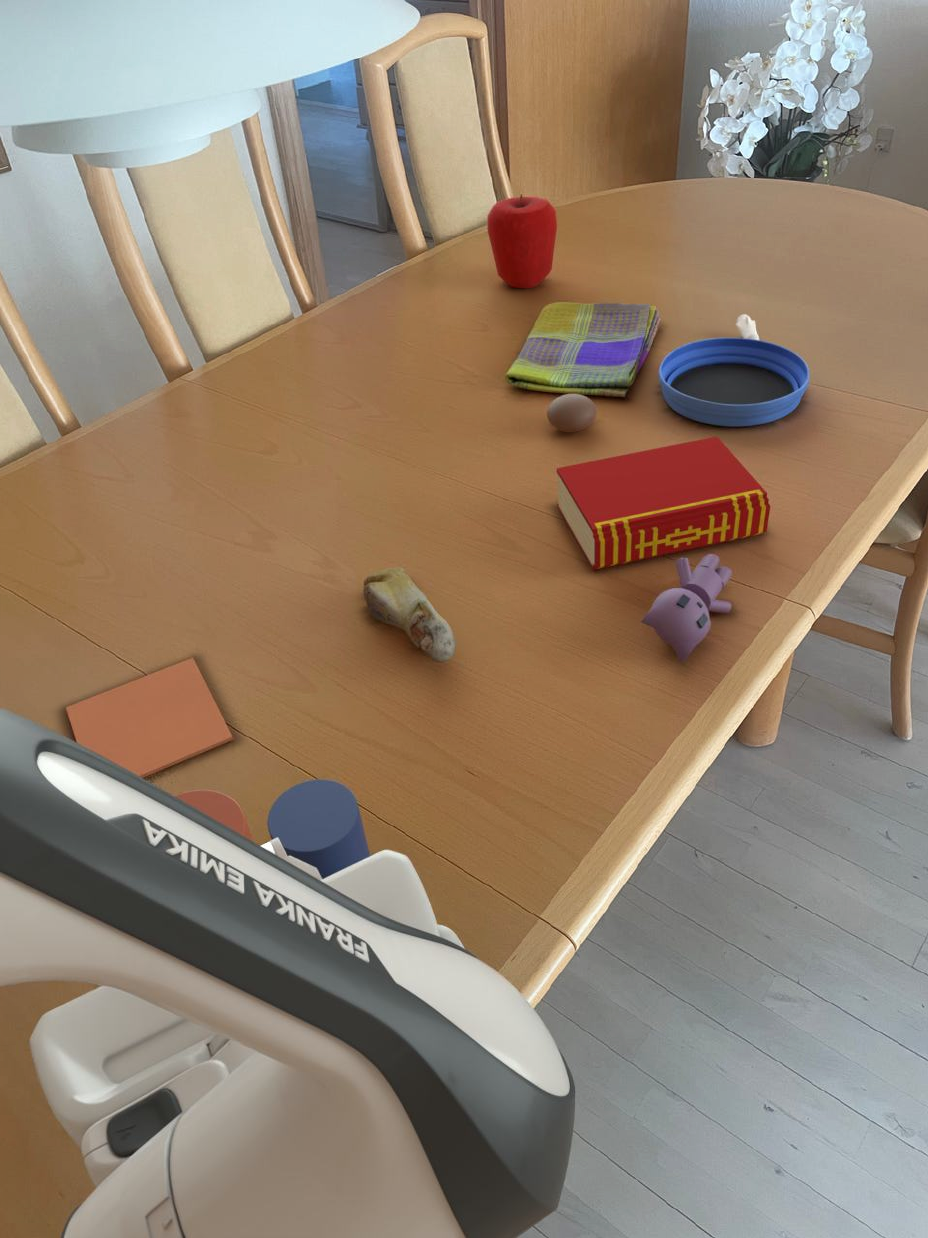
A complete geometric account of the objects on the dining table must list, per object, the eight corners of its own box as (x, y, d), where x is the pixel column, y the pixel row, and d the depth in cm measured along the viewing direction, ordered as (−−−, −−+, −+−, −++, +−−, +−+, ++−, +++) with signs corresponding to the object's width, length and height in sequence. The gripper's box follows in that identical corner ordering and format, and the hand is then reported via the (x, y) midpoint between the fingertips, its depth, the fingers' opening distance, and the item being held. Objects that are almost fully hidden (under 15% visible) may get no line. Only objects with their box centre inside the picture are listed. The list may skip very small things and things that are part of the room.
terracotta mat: (95, 798, 81) (93, 795, 80) (66, 710, 89) (65, 707, 89) (233, 739, 84) (232, 736, 84) (193, 660, 93) (192, 657, 92)
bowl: (643, 422, 119) (644, 395, 117) (673, 356, 132) (675, 331, 130) (796, 438, 114) (801, 411, 111) (813, 368, 126) (817, 342, 124)
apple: (563, 270, 158) (562, 182, 149) (549, 295, 151) (547, 204, 142) (500, 268, 161) (495, 182, 152) (483, 293, 153) (477, 204, 145)
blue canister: (314, 952, 68) (286, 867, 61) (284, 889, 72) (254, 802, 65) (392, 913, 70) (372, 825, 63) (358, 853, 74) (336, 765, 67)
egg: (567, 410, 123) (566, 381, 120) (605, 423, 120) (606, 393, 117) (537, 431, 120) (536, 401, 117) (576, 445, 117) (576, 414, 114)
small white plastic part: (729, 349, 132) (731, 327, 130) (736, 330, 136) (738, 308, 134) (756, 351, 131) (759, 329, 129) (762, 332, 135) (765, 310, 133)
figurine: (706, 530, 91) (651, 603, 84) (757, 582, 91) (707, 659, 84) (670, 557, 95) (615, 628, 88) (719, 607, 96) (669, 682, 88)
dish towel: (498, 390, 129) (497, 371, 127) (545, 313, 146) (544, 295, 144) (630, 401, 124) (631, 381, 122) (662, 320, 141) (663, 301, 139)
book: (595, 575, 97) (596, 534, 94) (557, 507, 107) (556, 468, 104) (765, 538, 100) (771, 497, 96) (713, 475, 109) (716, 436, 106)
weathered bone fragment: (344, 584, 96) (401, 655, 84) (385, 547, 96) (448, 614, 84) (373, 616, 99) (433, 689, 87) (413, 580, 99) (478, 649, 87)
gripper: (485, 953, 46) (366, 764, 56) (46, 1190, 40) (-3, 930, 49) (493, 1019, 50) (380, 832, 60) (96, 1244, 44) (41, 994, 53)
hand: (204, 877), depth 54 cm, fingers closed on terracotta canister, 6 cm apart
